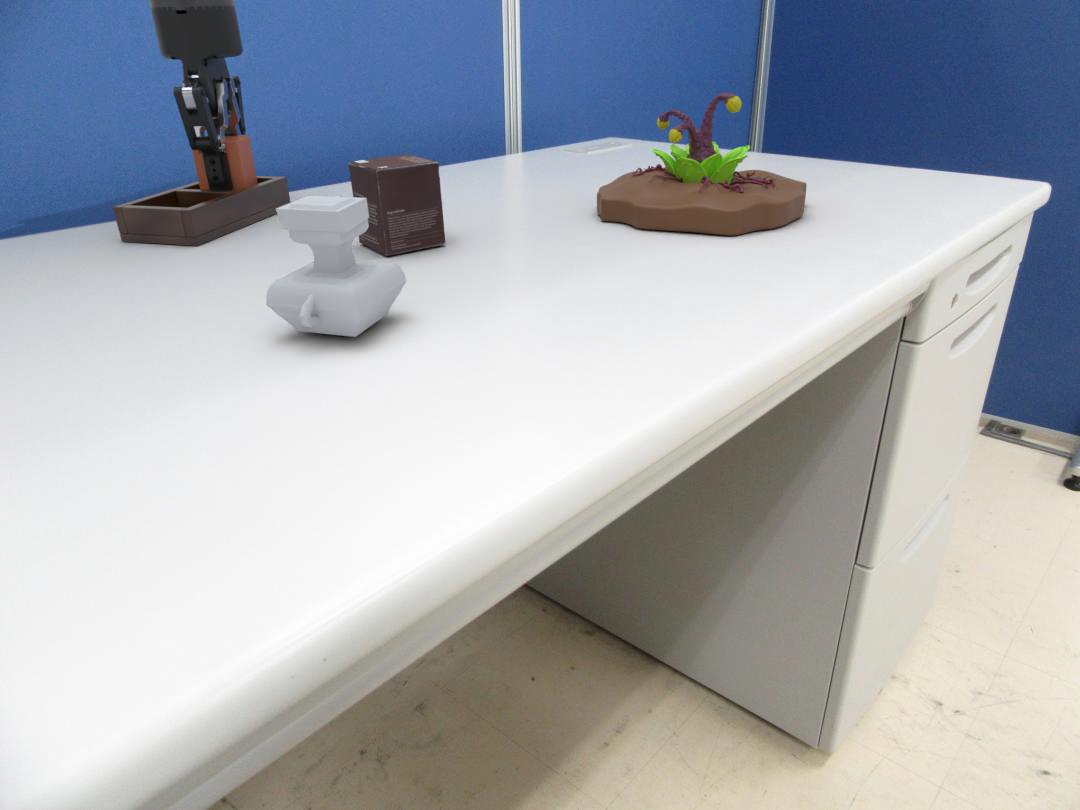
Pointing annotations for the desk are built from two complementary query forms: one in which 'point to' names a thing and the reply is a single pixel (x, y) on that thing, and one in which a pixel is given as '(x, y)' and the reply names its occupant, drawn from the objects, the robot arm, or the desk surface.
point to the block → (232, 163)
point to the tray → (199, 212)
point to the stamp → (333, 270)
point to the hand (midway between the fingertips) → (229, 185)
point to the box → (400, 202)
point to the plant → (701, 187)
